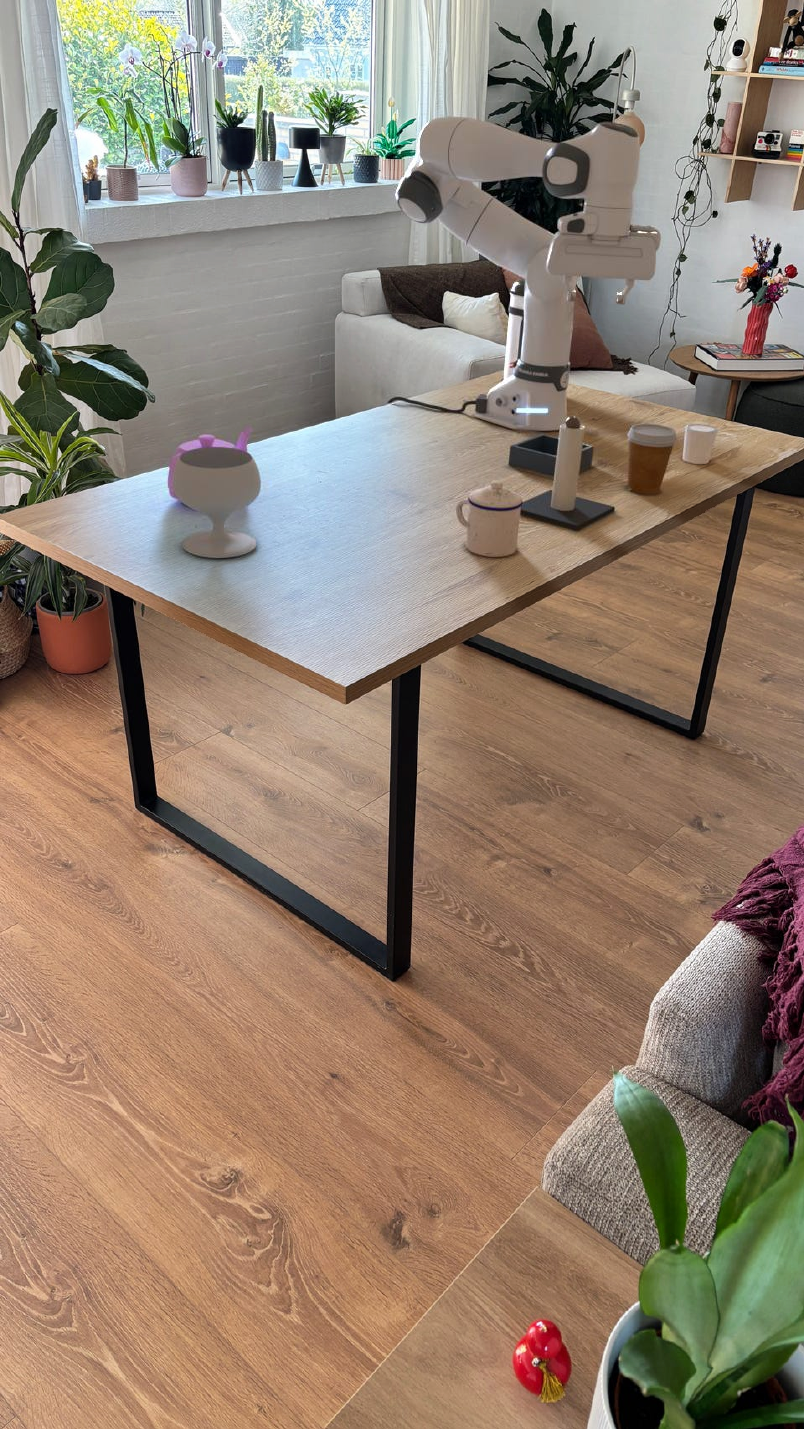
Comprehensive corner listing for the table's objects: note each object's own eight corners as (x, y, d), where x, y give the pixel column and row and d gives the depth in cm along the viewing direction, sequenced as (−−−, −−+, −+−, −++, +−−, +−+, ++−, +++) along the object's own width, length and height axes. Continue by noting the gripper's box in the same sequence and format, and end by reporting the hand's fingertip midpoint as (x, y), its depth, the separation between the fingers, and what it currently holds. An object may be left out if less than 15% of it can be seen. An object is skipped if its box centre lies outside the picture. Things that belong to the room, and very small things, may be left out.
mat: (511, 512, 201) (511, 507, 201) (550, 494, 211) (550, 489, 210) (577, 531, 194) (577, 525, 194) (614, 511, 204) (615, 506, 203)
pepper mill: (546, 507, 202) (556, 416, 193) (558, 501, 205) (569, 411, 196) (566, 512, 199) (578, 421, 191) (578, 507, 202) (590, 416, 194)
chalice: (213, 525, 188) (209, 439, 181) (279, 543, 183) (277, 455, 175) (159, 549, 178) (152, 459, 170) (226, 569, 172) (223, 476, 164)
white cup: (709, 456, 238) (715, 424, 235) (714, 466, 232) (720, 433, 229) (677, 454, 239) (683, 422, 235) (681, 463, 233) (687, 431, 229)
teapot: (197, 520, 190) (193, 454, 184) (147, 502, 197) (142, 437, 191) (278, 494, 204) (277, 432, 198) (229, 478, 211) (226, 417, 205)
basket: (508, 467, 225) (510, 445, 223) (539, 455, 234) (542, 433, 231) (560, 481, 218) (563, 458, 216) (591, 467, 227) (594, 446, 225)
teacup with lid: (527, 548, 186) (534, 481, 180) (499, 562, 179) (505, 494, 173) (469, 530, 192) (474, 466, 186) (439, 544, 185) (444, 478, 180)
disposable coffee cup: (672, 487, 218) (682, 428, 212) (661, 500, 211) (671, 439, 205) (626, 479, 221) (635, 420, 215) (613, 492, 214) (622, 431, 208)
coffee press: (565, 390, 286) (579, 268, 271) (538, 401, 274) (552, 274, 259) (507, 379, 293) (517, 260, 278) (478, 390, 281) (488, 266, 266)
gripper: (659, 224, 203) (647, 302, 210) (550, 218, 203) (541, 296, 210) (665, 228, 197) (652, 308, 204) (553, 222, 197) (544, 302, 204)
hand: (595, 302), depth 207 cm, fingers open, 8 cm apart
